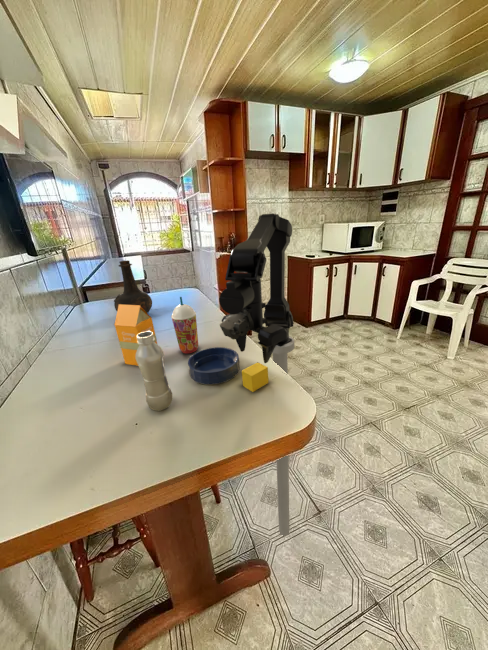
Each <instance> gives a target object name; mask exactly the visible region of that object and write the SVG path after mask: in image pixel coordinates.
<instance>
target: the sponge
mask: <svg viewBox="0 0 488 650" xmlns="http://www.w3.org/2000/svg"><path fill="white" fill-rule="evenodd" d="M241 378H242V387H244V388H245V389H247V390H248V391H250V392H252V393H254V392H256V391H257V390H258V389H261V388H263V387H264V386H265V385H267V384H269V367H268V366H267V365H264V364H262V363H260V362H258V361H257V362H255V363H254V364H252V365H250V366H248V367H245V368H244V369H242V370H241Z"/></svg>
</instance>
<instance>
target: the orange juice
mask: <svg viewBox="0 0 488 650" xmlns="http://www.w3.org/2000/svg"><path fill="white" fill-rule="evenodd" d="M113 325H114V327H115V328H114V329H115V332H116V336H117V339H118V343H119V346H120V350H121V352H122V353H121V354H122V356H123V360H124V364H125V365H128V366H129V365H130V366H131V365H132V366H136V367H137V366H138V364H137V361H136V358H135V357H136V352H137V349H138V347H139V344H138V342H137V341H138V340H137V335H138V334H139V333H142V332H146V331H150V332H153V336H154V338H155V341H154V342H155V343H156V344H158V339H157V335H156V331H155V327H154V323H153V317H151V315H149V314H148V313H146V312H145V310H144V309H143V308H142V307H141V306H140V305H122V304H119V306H118V311H116V315H115V321H114V324H113ZM138 367H139V366H138Z"/></svg>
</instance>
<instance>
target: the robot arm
mask: <svg viewBox="0 0 488 650" xmlns="http://www.w3.org/2000/svg"><path fill="white" fill-rule="evenodd" d="M292 235H293V225H292V223H291V221H290V220H289V219H287V218H285V217H281V216H280V215H279V214H278V213H275V212H273V213H262V214H260V215H259V216H258V220H257V223H256V224H255V226H254V228H253V229H252V231H251V232H250V234H249V236H248V238H247V239H246V240H244V241H242V242H239V243H238V244H236V246H235V247H233V249H232V250H231V252H230V254H229V259H228V264H227V269H226V273H225V279H224V280H225V281H227V282H226V283H225V287H226V288H225V289H223V290H222V291H221V293H220V295H219V298H218V302H219V305H220V308H221V309H222V310H223V311H224V312H225V313H227V314H226V315H223V317H222V318H221V322H220V323H219V327H220V329H221V331H222V333H223V335H224V336H225V337H228V338H230V339H231V340H235V341H236V344H237V347H238V349H239V351H240V352H241V353H243V352H245V350H246V346H247V344H246V343H247V336H248V332H249V331H252V332H254V333H257V339H258V342H257V344H258V345H259V346H261V350H262V359H263V363H264V364H267V363H269V361H270V360H271V357H272V356H273V350H274V348H275V347H276V345H277V346H283V345H285V344H287V343H289V342H291V341H292V339H291V338H289V336H290V329H291V328H293V327H294V316H293V314H292V312H291V310H290V304H289V302H288V300H287V298H286V297H285V280H286V279H285V277H286V276H285V275H286V274H285V272H286V271H285V267H286V266H285V265H286V264H285V263H286V256H285V255H286V250H287V248H288V246H290V243H291V237H292ZM266 249H267V250H268V251H269V300H268V301H267V303H266V302H263V296H262V295H263V294H262V293H263V292H262V278H263V275H264V272H265V268H266V265H267V257H266V254H265V250H266ZM263 309H264V311H263ZM264 325H265V326H264Z"/></svg>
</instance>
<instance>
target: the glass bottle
mask: <svg viewBox="0 0 488 650" xmlns="http://www.w3.org/2000/svg"><path fill="white" fill-rule="evenodd" d="M118 263H119V265H118V267H120V271H121V275H122V283H123V291H122V293H119V294H117V295H116V297H115V298H114V299H113V304H114V305H113V306H114V309H115V311H116V312H117V311H118V306H119V304H122V305H140V306H141V307H142V308H143V309H144V310H145V312H146V313H147V314H148V313H150V311H151V310H152V307H153V299H152V297H151V296H150V294H148V293H147V292H145V291H142V290H140V288H139V287H138V284H137V281H136V279H135V277H134V274H133V270H132V266H133V263H130V260H119V262H118Z"/></svg>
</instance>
